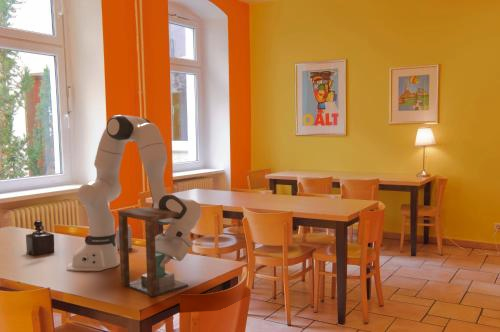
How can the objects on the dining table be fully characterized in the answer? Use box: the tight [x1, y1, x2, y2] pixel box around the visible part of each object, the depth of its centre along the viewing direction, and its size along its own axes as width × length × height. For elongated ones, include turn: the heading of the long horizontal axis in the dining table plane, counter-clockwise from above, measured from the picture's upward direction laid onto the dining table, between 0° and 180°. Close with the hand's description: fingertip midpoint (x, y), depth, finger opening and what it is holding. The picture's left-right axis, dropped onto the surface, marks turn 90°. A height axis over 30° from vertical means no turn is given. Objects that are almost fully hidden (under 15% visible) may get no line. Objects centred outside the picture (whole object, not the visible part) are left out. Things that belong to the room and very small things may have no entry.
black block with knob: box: [25, 219, 55, 257], centre depth 242 cm, size 16×11×18 cm
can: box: [115, 224, 133, 251], centre depth 250 cm, size 8×8×12 cm
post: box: [156, 253, 166, 278], centre depth 190 cm, size 4×4×10 cm
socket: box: [123, 270, 189, 298], centre depth 189 cm, size 16×20×4 cm
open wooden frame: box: [117, 206, 179, 297], centre depth 186 cm, size 13×21×29 cm, turn 46°
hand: (156, 265), depth 189 cm, fingers closed on post, 4 cm apart
